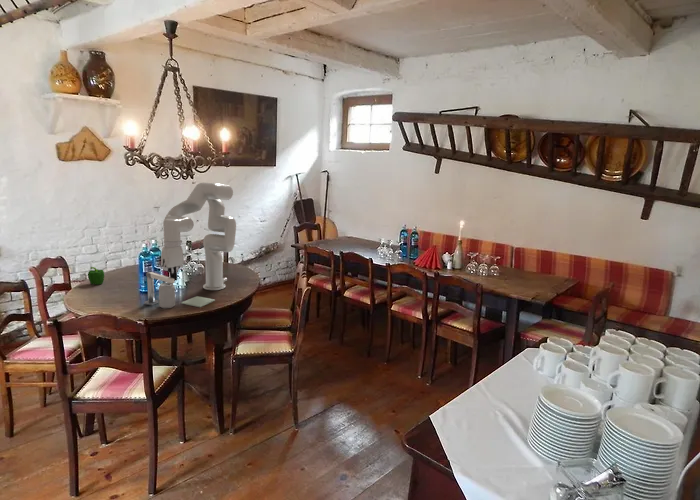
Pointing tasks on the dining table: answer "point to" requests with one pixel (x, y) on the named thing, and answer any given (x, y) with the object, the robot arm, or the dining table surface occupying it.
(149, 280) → the post
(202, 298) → the pad
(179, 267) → the robot arm
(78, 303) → the dining table surface
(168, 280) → the light grey bar
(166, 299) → the can
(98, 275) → the bell pepper
